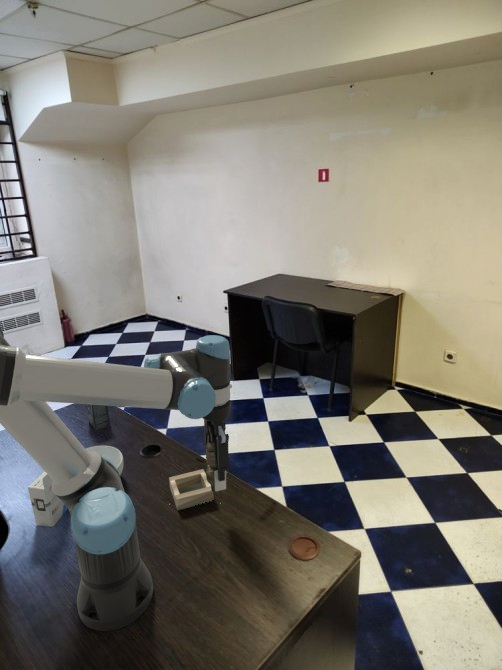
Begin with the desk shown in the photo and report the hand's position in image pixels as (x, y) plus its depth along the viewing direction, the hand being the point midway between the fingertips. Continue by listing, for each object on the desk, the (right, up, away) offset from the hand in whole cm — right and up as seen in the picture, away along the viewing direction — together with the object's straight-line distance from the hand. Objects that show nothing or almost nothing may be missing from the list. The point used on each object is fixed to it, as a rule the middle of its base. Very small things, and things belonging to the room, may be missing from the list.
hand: (216, 482), depth 113 cm
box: (-46, +5, +48) cm, 67 cm away
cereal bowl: (-36, -6, +16) cm, 41 cm away
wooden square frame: (-8, -7, +10) cm, 15 cm away
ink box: (-43, -10, +4) cm, 45 cm away
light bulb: (0, -3, +1) cm, 4 cm away
